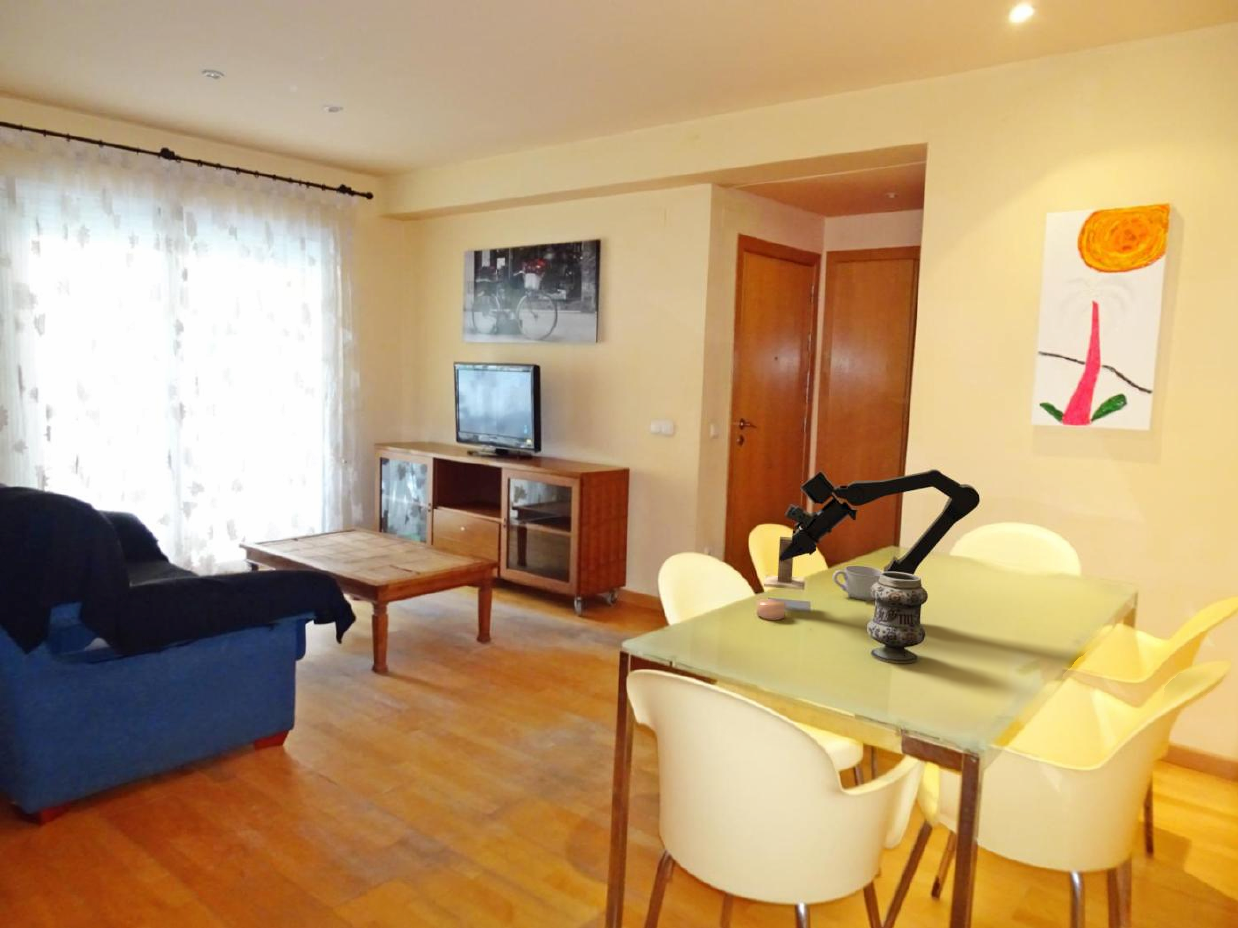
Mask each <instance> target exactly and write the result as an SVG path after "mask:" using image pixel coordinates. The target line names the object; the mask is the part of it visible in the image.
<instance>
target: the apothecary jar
mask: <svg viewBox="0 0 1238 928" xmlns="http://www.w3.org/2000/svg"><path fill="white" fill-rule="evenodd" d="M871 595H872V596H873V598H875V599H874V601H875V604H874V613H873V618H872V619H870V621H869V622H868V623H867V625H866V630H867V633H868V635H869V636H870V637H871V638H872V639H873V640H875V641H876V642H878V643H880V644H882V646H880V647H877V648H874V649H872V650H871V652H870V655H871V657H873V658H874V659H877V660H879V661H882V662H887V663H891V664H904V665H906V664H907V665H908V664H913V663H917V662H918V660H919V656H918V655H917V654H915V652H913V651H911V650H908V649H907V648H911V647H914V646H918V645H919V644H921V643H923V641H924V640H925V638H926V630H925V628H924V627H923V626H922V625H921V614H922V612H921V611H922V605H924V604H926V602H927V601H928V597H929V594H928V592H927V590H926V588H924V587H923V585H922V580H921V577H920V576H919V575H916V574H914V575H912V574H908V573H901V572H882V573H881V574H880V579H879V581H878V582H876V583H875V584H874V585H873V586H872V587H871ZM883 645H884V646H883Z"/></svg>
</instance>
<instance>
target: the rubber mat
mask: <svg viewBox="0 0 1238 928" xmlns="http://www.w3.org/2000/svg"><path fill="white" fill-rule="evenodd" d="M767 599H774V600H779V601H783V602H785V603H786V611H791V612H792V611H793V612H803V613H811V601H809V600H799V599H787V598H786V599H785V598H776V597H775V598H774V597H767Z"/></svg>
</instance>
